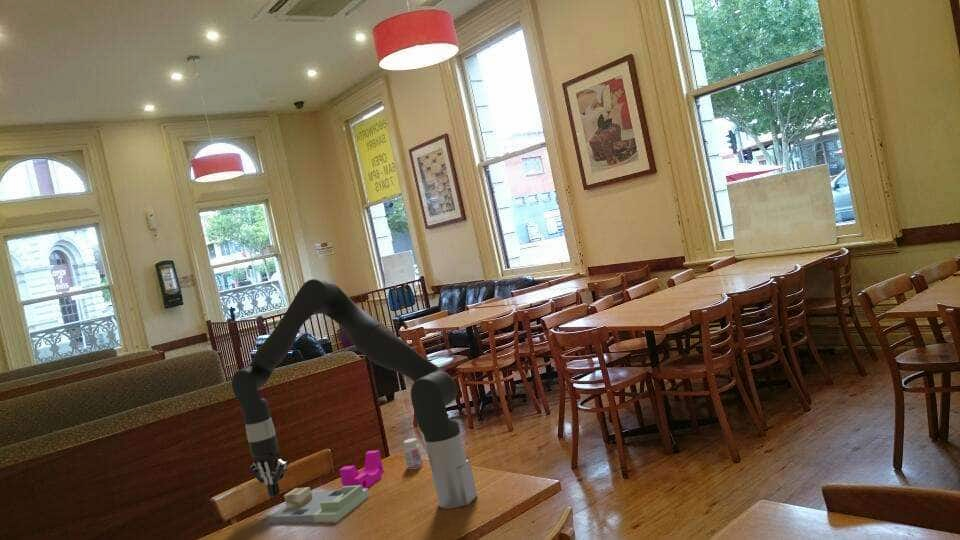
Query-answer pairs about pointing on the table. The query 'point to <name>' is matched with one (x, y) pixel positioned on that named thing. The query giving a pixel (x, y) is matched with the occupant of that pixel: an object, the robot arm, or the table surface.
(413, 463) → the pill bottle
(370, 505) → the table surface
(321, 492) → the board
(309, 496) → the birch block
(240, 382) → the robot arm
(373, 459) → the toy block
